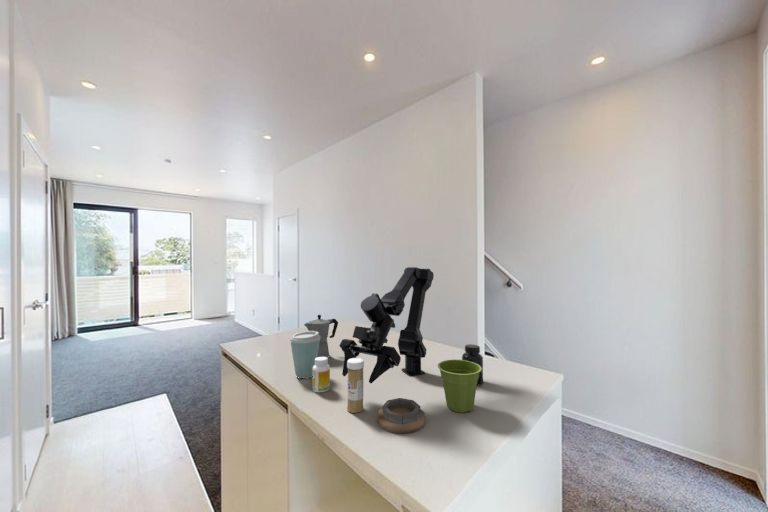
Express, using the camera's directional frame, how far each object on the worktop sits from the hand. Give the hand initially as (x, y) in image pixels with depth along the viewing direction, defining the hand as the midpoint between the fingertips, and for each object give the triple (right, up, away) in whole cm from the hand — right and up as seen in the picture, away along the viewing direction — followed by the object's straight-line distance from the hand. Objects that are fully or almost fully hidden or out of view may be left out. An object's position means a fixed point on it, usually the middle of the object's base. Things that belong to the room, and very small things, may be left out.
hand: (356, 379), depth 83 cm
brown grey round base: (+12, -8, -6) cm, 16 cm away
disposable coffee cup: (-21, -9, +25) cm, 33 cm away
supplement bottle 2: (+37, -9, +19) cm, 43 cm away
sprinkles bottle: (0, -8, 0) cm, 8 cm away
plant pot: (+29, -8, +1) cm, 30 cm away
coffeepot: (-19, -10, +46) cm, 51 cm away
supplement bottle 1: (-12, -9, +13) cm, 20 cm away
